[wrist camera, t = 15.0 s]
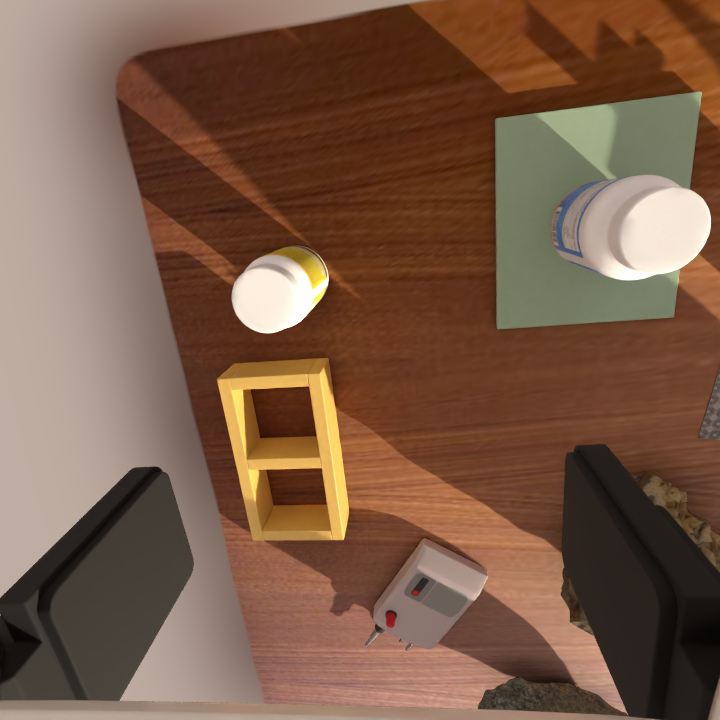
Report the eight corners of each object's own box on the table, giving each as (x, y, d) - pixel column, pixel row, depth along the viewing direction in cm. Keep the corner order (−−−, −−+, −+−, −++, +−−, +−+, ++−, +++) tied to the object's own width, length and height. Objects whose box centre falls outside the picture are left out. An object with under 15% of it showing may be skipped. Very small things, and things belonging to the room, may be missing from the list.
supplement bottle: (269, 241, 33) (224, 254, 26) (332, 248, 33) (306, 264, 25) (267, 304, 35) (224, 334, 27) (327, 311, 35) (301, 344, 27)
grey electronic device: (498, 555, 40) (504, 581, 38) (412, 658, 46) (412, 687, 43) (433, 522, 40) (435, 546, 37) (354, 630, 46) (350, 658, 43)
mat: (496, 327, 34) (497, 329, 33) (494, 119, 29) (496, 118, 29) (670, 315, 32) (674, 317, 32) (697, 92, 27) (702, 91, 27)
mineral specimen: (770, 538, 37) (890, 652, 28) (651, 628, 41) (719, 752, 32) (632, 445, 36) (709, 532, 26) (524, 548, 40) (557, 653, 31)
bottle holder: (265, 514, 42) (252, 540, 39) (234, 363, 37) (216, 379, 34) (349, 513, 41) (343, 540, 38) (328, 357, 36) (320, 373, 33)
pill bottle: (651, 221, 30) (757, 230, 20) (584, 281, 31) (654, 314, 22) (596, 161, 29) (680, 143, 20) (530, 226, 31) (579, 237, 21)
